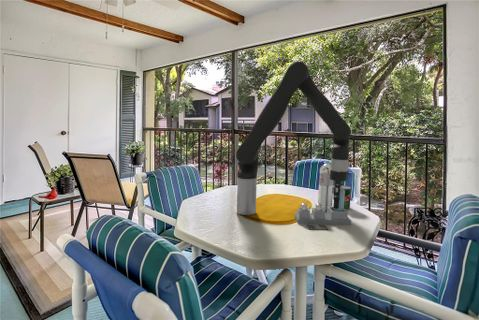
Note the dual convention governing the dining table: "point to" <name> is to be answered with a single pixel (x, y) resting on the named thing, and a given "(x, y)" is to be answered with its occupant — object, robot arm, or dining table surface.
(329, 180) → the water bottle
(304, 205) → the plunger
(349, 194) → the canned tomato
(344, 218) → the filter housing
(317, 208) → the plunger
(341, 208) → the blue capsule with label
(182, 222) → the dining table surface
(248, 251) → the dining table surface
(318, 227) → the rubber mat
